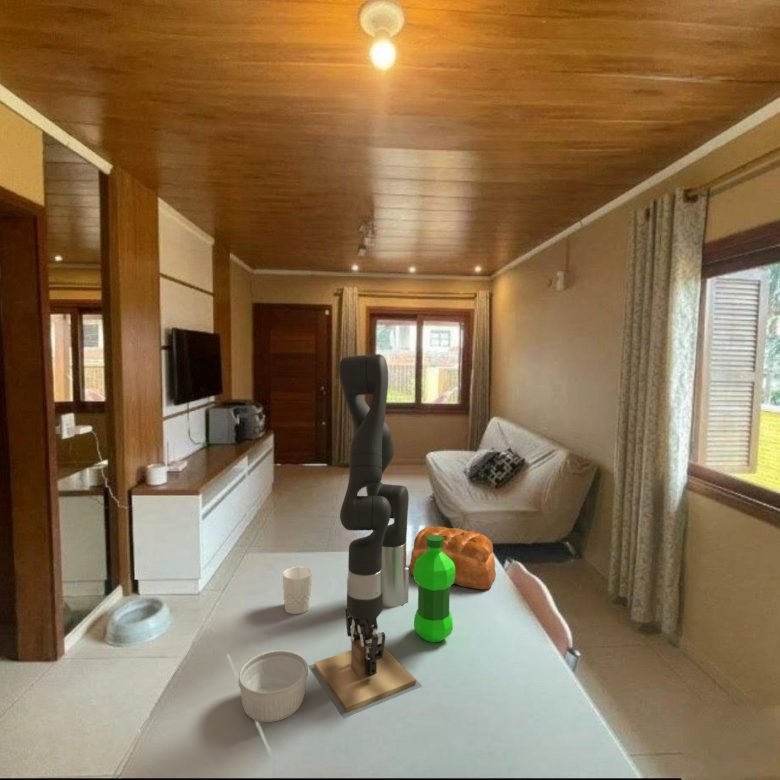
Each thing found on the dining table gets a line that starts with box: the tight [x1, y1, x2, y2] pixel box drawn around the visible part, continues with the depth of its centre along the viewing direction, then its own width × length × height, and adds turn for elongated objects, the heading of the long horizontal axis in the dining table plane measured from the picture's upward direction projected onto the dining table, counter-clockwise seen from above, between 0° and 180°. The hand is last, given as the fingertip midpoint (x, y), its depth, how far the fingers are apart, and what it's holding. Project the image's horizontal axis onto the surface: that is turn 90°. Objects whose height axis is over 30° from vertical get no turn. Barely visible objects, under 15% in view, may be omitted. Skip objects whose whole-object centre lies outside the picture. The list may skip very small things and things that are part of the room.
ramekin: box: [238, 650, 309, 723], centre depth 94 cm, size 13×13×7 cm
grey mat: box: [308, 663, 423, 719], centre depth 102 cm, size 18×18×1 cm
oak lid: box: [313, 639, 417, 713], centre depth 102 cm, size 16×16×7 cm
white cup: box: [282, 566, 313, 615], centre depth 131 cm, size 8×8×10 cm
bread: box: [409, 525, 497, 590], centre depth 152 cm, size 14×26×16 cm, turn 68°
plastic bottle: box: [412, 535, 455, 643], centre depth 117 cm, size 10×10×25 cm
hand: (363, 666), depth 102 cm, fingers open, 5 cm apart
